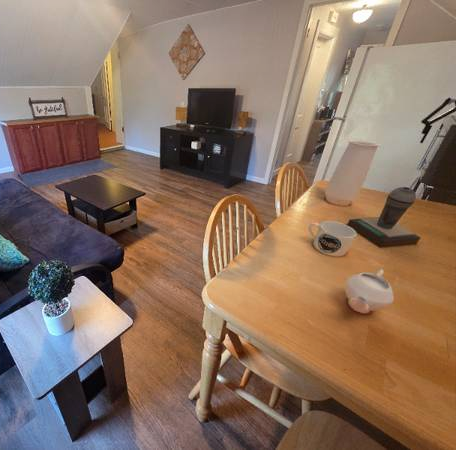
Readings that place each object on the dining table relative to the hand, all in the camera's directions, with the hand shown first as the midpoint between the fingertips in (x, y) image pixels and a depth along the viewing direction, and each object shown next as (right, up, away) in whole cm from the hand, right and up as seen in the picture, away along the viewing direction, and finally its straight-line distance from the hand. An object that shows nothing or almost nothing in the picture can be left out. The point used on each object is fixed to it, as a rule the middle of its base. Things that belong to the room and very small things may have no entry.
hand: (444, 145), depth 96 cm
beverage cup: (-27, -32, -4) cm, 42 cm away
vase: (-26, -20, +22) cm, 39 cm away
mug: (-54, -39, -9) cm, 67 cm away
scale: (-27, -35, -2) cm, 45 cm away
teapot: (-60, -53, -31) cm, 86 cm away
